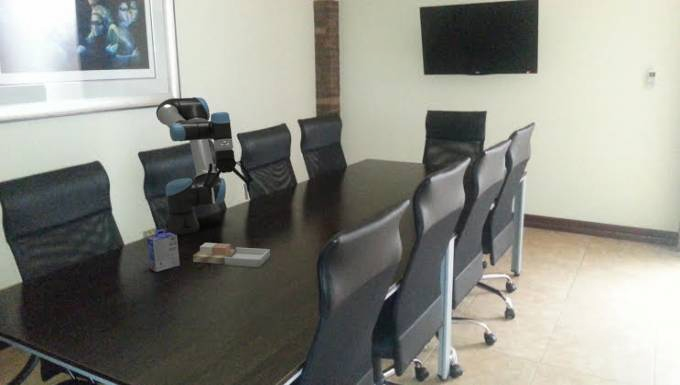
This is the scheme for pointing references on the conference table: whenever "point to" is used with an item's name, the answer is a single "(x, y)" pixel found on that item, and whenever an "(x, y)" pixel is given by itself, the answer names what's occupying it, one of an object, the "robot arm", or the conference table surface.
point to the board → (212, 257)
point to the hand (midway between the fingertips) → (230, 201)
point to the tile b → (221, 249)
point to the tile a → (207, 248)
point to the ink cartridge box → (163, 251)
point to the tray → (248, 257)
